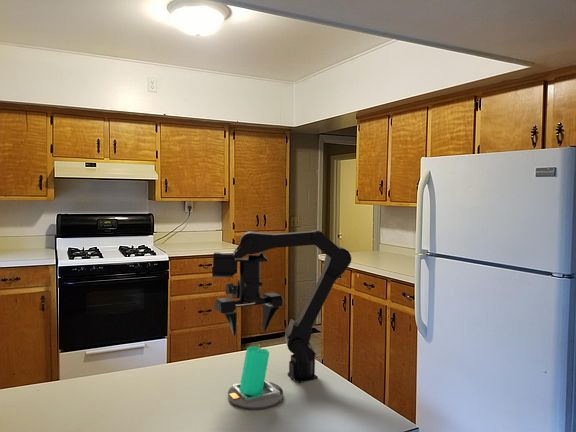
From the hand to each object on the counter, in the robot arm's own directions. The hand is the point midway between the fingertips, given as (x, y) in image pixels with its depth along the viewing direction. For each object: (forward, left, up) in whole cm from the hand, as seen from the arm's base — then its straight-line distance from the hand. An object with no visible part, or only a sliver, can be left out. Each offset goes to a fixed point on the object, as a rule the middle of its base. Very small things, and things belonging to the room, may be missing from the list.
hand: (249, 332), depth 123 cm
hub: (+3, +11, -13) cm, 17 cm away
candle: (+4, +11, -12) cm, 16 cm away
